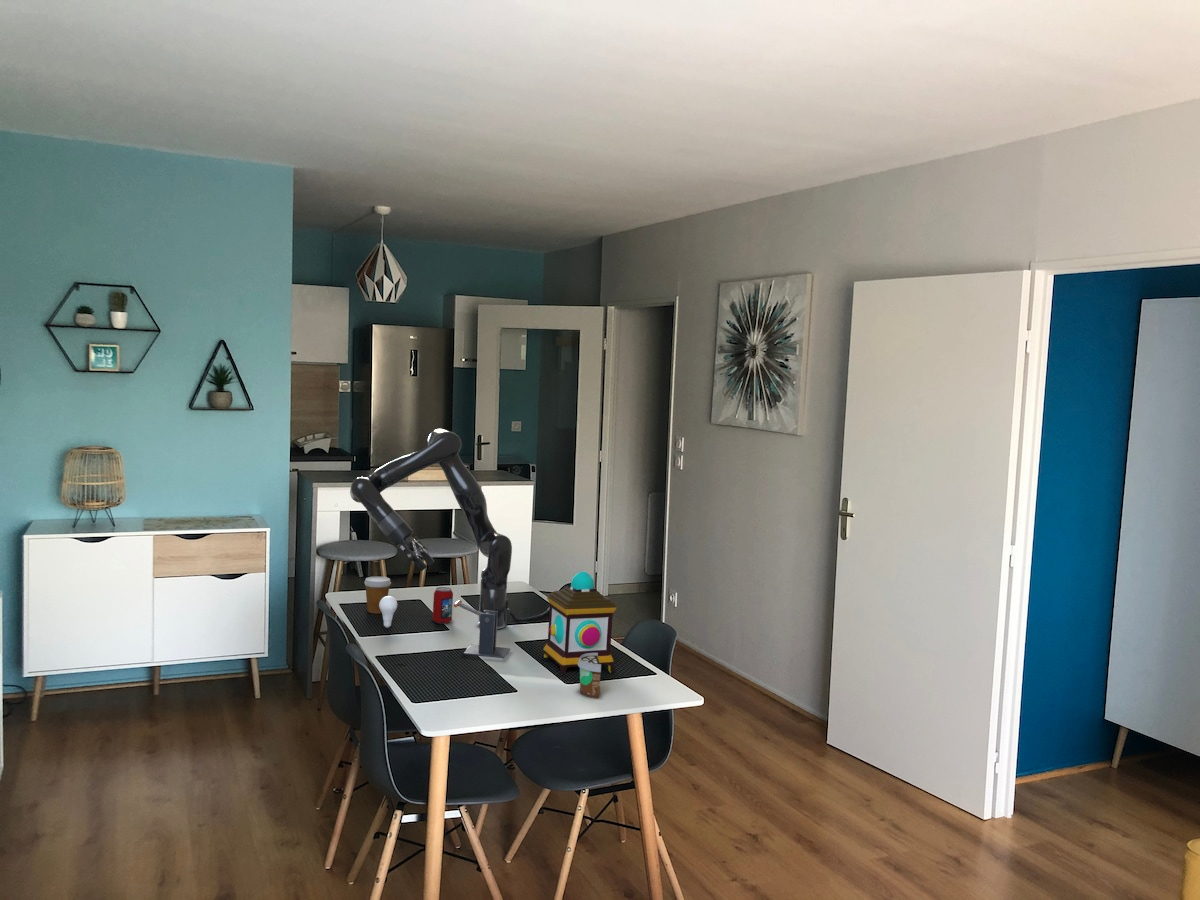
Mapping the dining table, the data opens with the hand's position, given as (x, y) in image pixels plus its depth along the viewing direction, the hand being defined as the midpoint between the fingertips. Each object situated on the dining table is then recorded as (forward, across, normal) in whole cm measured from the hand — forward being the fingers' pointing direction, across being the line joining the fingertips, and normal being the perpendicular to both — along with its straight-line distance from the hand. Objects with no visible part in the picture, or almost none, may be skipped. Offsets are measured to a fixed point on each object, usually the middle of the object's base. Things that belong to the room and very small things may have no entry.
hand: (428, 566), depth 302 cm
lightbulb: (+6, +17, +32) cm, 36 cm away
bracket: (+34, -4, +4) cm, 34 cm away
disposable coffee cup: (-2, +37, +39) cm, 54 cm away
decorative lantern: (+55, -6, -17) cm, 58 cm away
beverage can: (+17, +31, +21) cm, 41 cm away
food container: (+58, -30, -21) cm, 69 cm away
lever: (+21, -3, -2) cm, 21 cm away
